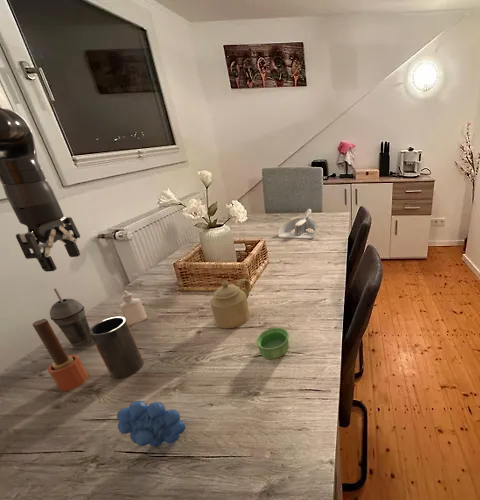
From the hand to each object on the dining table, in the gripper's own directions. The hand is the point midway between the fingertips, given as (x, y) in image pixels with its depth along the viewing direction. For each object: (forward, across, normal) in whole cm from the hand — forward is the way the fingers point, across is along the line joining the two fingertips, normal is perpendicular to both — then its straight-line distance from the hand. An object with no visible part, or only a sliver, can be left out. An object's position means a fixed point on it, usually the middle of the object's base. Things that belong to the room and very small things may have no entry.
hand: (63, 263), depth 72 cm
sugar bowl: (+29, -9, +35) cm, 46 cm away
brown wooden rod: (+28, +12, 0) cm, 31 cm away
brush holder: (+29, +12, 0) cm, 31 cm away
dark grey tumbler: (+29, +10, +11) cm, 33 cm away
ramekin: (+29, +11, +50) cm, 59 cm away
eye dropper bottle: (+29, -13, +3) cm, 32 cm away
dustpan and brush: (+28, -95, +63) cm, 117 cm away
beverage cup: (+29, -4, -8) cm, 30 cm away
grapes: (+29, +35, +28) cm, 53 cm away
